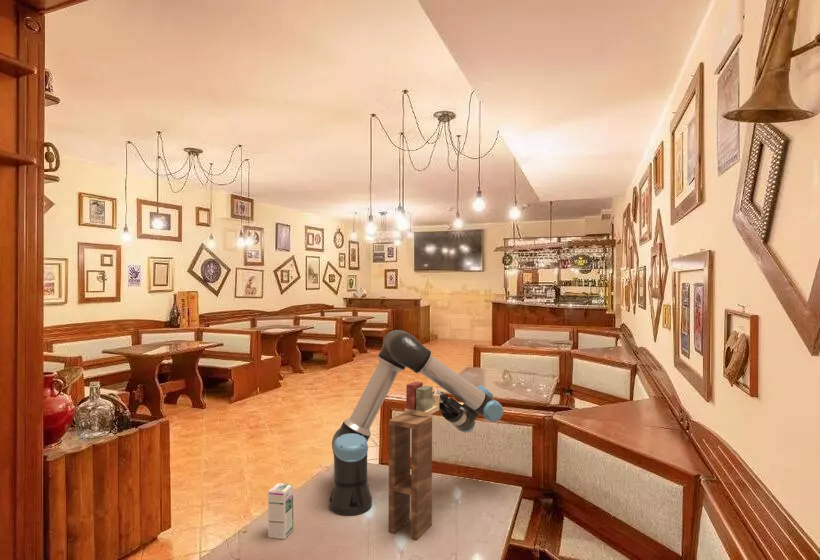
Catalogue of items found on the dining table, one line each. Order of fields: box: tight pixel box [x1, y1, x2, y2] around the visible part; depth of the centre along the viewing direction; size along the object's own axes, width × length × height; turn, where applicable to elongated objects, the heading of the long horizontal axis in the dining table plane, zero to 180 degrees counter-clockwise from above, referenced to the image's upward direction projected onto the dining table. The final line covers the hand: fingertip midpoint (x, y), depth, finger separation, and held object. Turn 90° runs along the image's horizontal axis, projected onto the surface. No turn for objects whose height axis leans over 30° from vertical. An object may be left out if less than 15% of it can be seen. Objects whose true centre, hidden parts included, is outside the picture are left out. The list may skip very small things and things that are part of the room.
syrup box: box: [267, 482, 294, 540], centre depth 146 cm, size 6×6×14 cm
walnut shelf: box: [388, 412, 433, 541], centre depth 150 cm, size 10×10×35 cm
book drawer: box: [404, 381, 444, 417], centre depth 161 cm, size 8×19×10 cm, turn 152°
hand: (430, 392), depth 163 cm, fingers open, 3 cm apart
